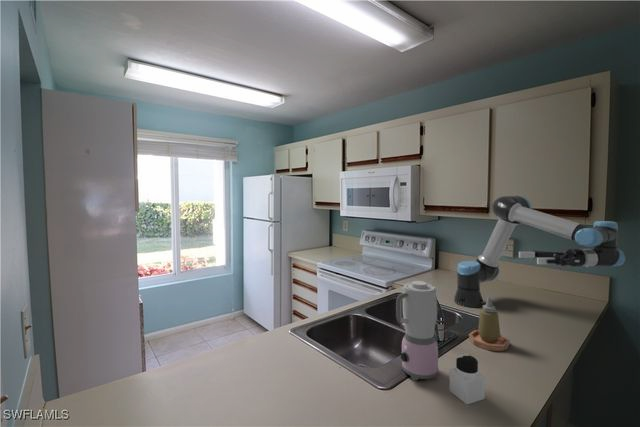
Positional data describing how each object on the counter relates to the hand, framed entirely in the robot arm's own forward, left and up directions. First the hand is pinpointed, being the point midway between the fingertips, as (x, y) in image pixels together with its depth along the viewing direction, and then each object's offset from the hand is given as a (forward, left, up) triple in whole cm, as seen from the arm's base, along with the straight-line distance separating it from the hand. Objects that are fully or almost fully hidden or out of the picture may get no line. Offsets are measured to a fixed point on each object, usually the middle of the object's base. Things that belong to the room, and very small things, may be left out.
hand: (527, 257), depth 132 cm
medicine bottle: (+45, -43, -34) cm, 71 cm away
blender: (+34, -56, -34) cm, 74 cm away
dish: (+10, -21, -34) cm, 41 cm away
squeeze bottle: (+10, -21, -33) cm, 40 cm away
